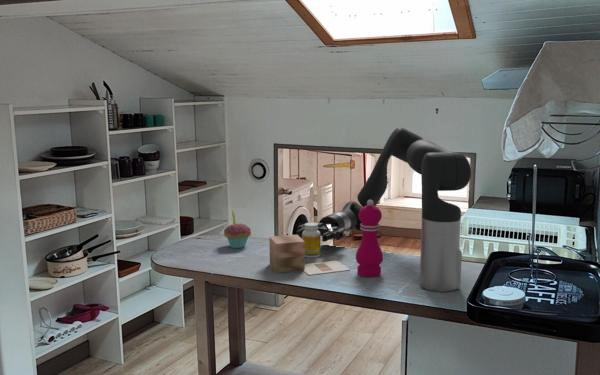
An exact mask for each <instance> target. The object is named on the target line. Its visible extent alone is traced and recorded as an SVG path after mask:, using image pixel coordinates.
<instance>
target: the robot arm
mask: <svg viewBox="0 0 600 375" xmlns="http://www.w3.org/2000/svg"><path fill="white" fill-rule="evenodd" d="M391 157H394V158H396V159H398V160H400V161H403V162H404V163H406V164H408V166H409V167H410V168H411V169H412V170H413V171H414V172H416V173H417V174H418V175H421V228H420V230H421V231H420V234H421V236H420V259H419V260H420V261H419V262H420V263H419V264H420V265H419V285H420V287H422V288H423V289H425V290H428V291H433V292H445V293H446V292H452V291H455V290H461V282H462V279H461V278H462V256H463V252H462V250H461V249H460V246H461V245H460V242H461V240H460V239H461V218H462V211H461V207H459V206H458V205H456V204H454V203H450V202H448V201H445V200H443V199H441V197H439V192H445V191H446V192H448V191H449V192H453V191H460V190H464V189H465V188H466V187H467V186H468V184H469V182H470V181H471V178H472V177H471V176H472V168H471V164H470V162H469V160H468V158H467V157H466V155H464V154H463V153H461V152H455V151H449V149H448V150H447V149H446V148H444V147H441V146H440V145H438V144H436V143H434V142H433V141H430V140H427V139H424V138H423V137H421V136H420V135H418V134H417V133H414V132H412V131H410V130H408V129H406V128H404V127H401V126H399V127H396V128H395V129H394V130H393V131H392V133H390V135H389V137H388V138H387V140H386V143H385V144H384V147H383V149H382V151H381V153H380V154H379V157H378V158H377V160H376V163H375V165H374V166H373V169H372V170H371V173H370V175H369V177H368V178H367V180H366V181H365V183H364V184H363V186H362V188H361V189H360V190H359V192H358V194H357V197H356V198H357V201H358V203H357V202H356V201H355V200H354V201H352V200H351V201H348V202H347V203H346V204H345V205H344V206H343V207H342V209H341V210H340V211H336V212H333V213H331V214H327V215H326V216H323V217H322V218H321V219H320V220H319V221H318V222H316V223H317V224H318V229H317V230H318V231H319V232H320V237H321V238H322V239H321V241H322V242H324V243H325V242H327V241H332V240H337V241H340V240H342V239H343V238H345V237H346V236H347V232H350V231H351V230H353V229H355V230H357V231H362V230H361V229H360V227H361V225H360V224H361V223H362V222H361V221H360V219H359V211H360V209H361V208H362V207H364V206H367V201H368V200H372V201H373V202H374V204H373V206H376V207H377V205H378V203H379V201H380V200H381V198H382V197H383V196H384V195H385V193H386V190H387V187H388V164H389V161H390V159H391ZM305 224H306V223H303V224H301V225H298V226H297V230H296V234H295V235H298V236H299V237H300V238H301V239H302V233H303V231H304V230H305V228H304V227H305Z"/></svg>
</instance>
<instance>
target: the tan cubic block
mask: <svg viewBox="0 0 600 375" xmlns="http://www.w3.org/2000/svg"><path fill="white" fill-rule="evenodd" d="M305 262H306V257H305V241H304V240H302V237H301V238H300V237H299V236H298V235H296V234H288V235H287V234H285V235H284V234H283V235H273V236H270V235H269V265H270V266H271V268H272V269H273V272H275V273H277V274H278V273H286V272H287V273H289V272H298V271H300V272H301V271H303V270H304V269H305V264H306V263H305Z"/></svg>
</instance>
